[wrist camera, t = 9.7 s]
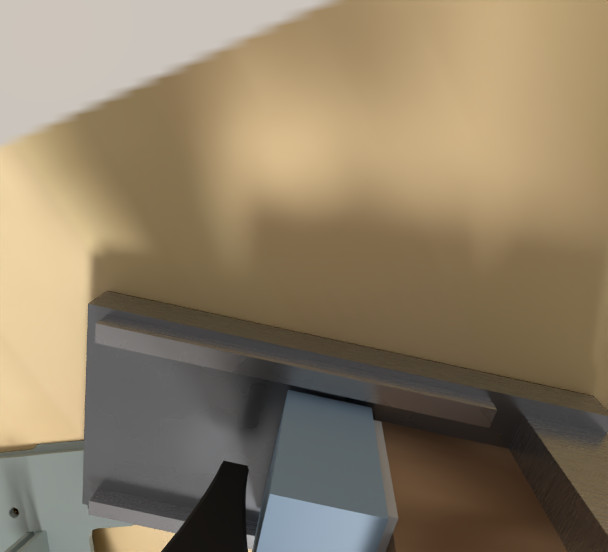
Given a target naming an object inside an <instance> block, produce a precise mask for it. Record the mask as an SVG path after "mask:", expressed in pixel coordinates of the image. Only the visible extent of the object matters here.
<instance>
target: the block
mask: <svg viewBox="0 0 608 552" xmlns="http://www.w3.org/2000/svg"><path fill="white" fill-rule="evenodd" d="M376 421H378V420H376ZM381 423H382V429H383V434H384V440H385V445H386V451H387V457H388V462H389V468H390V474H391V479H392V485H393V491H394V496H395V502H396V508H397V513H398V521H397V523H396V526H395V529H394V531H393V534H392V536H391V539H390V541H389V544H388V547H387V549H386V552H568V551H567V549H566V548H565V546H564V544H563V542H562V541H561V539H560V537H559V535H558V534H557V532H556V530H555V528H554V527H553V525H552V523H551V521H550V520H549V518H548V516H547V514H546V513H545V511H544V509H543V508H542V506H541V504H540V502H539V501H538V499H537V497H536V495H535V494H534V492H533V490H532V488H531V487H530V485H529V483H528V481H527V480H526V478H525V476H524V474H523V473H522V471H521V469H520V467H519V466H518V464H517V462H516V460H515V459H514V457H513V455H512V453H511V452H510V450H509V449H508V448H503V447H498V446H494V445H489V444H484V443H480V442H475V441H471V440H466V439H461V438H457V437H452V436H447V435H443V434H438V433H433V432H429V431H424V430H419V429H415V428H410V427H406V426H401V425H396V424H392V423H387V422H382V421H381Z"/></svg>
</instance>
